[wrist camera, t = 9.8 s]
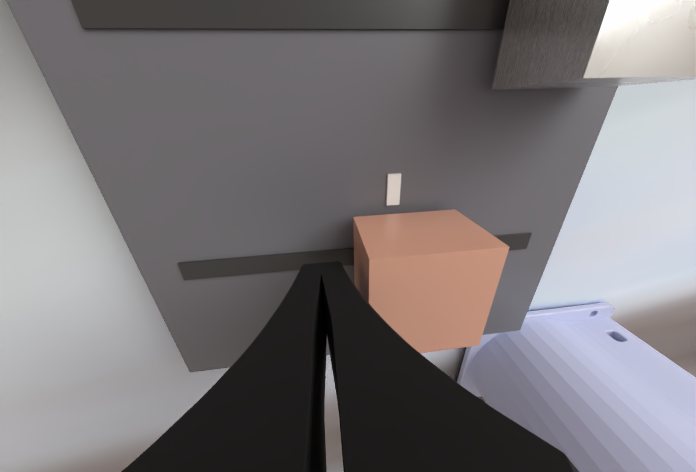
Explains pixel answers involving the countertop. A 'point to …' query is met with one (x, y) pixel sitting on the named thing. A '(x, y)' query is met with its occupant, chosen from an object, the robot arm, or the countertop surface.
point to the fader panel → (303, 142)
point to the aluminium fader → (596, 43)
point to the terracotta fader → (428, 275)
